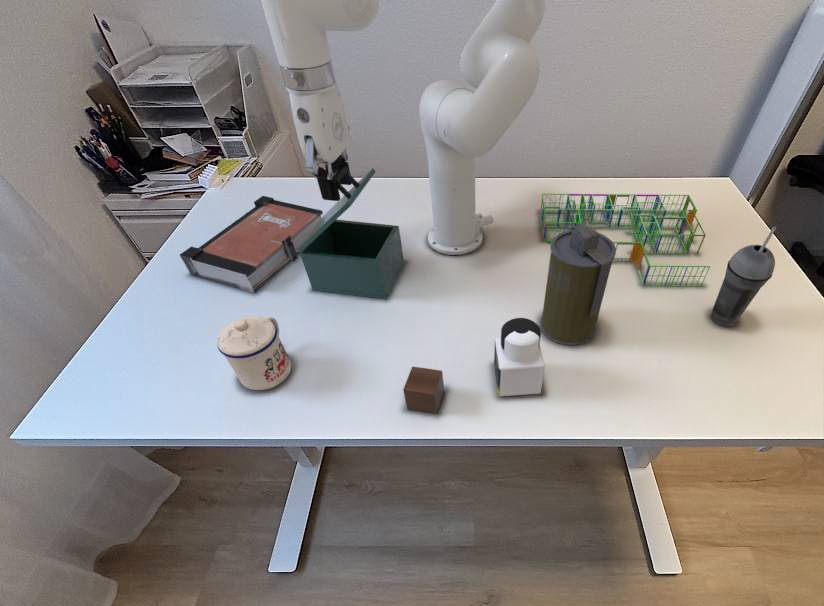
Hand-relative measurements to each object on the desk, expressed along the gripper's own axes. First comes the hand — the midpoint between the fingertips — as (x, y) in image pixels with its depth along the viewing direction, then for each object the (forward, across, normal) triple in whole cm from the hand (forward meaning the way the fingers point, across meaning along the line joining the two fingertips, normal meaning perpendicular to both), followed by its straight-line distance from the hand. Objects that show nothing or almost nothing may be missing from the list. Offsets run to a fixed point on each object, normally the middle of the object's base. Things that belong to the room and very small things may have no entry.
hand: (337, 190), depth 83 cm
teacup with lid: (+19, -28, +6) cm, 34 cm away
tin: (+19, 0, 0) cm, 19 cm away
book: (+19, +5, +24) cm, 31 cm away
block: (+19, -30, -22) cm, 42 cm away
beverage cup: (+19, -1, -74) cm, 76 cm away
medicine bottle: (+19, -23, -37) cm, 47 cm away
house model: (+19, +21, -55) cm, 62 cm away
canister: (+19, -8, -45) cm, 49 cm away
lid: (+4, 0, +1) cm, 4 cm away
